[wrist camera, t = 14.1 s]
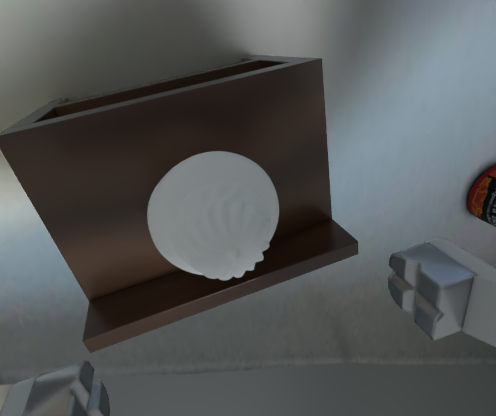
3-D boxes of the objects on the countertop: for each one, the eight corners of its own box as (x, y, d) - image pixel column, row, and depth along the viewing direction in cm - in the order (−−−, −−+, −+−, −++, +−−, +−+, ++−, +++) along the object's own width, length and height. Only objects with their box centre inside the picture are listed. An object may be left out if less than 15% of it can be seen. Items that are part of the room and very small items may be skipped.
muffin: (271, 153, 18) (336, 203, 12) (234, 244, 20) (275, 326, 14) (162, 117, 16) (179, 158, 10) (132, 225, 18) (130, 316, 12)
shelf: (49, 101, 23) (-39, 156, 12) (255, 54, 26) (355, 59, 14) (108, 226, 29) (89, 353, 17) (274, 176, 32) (358, 254, 20)
